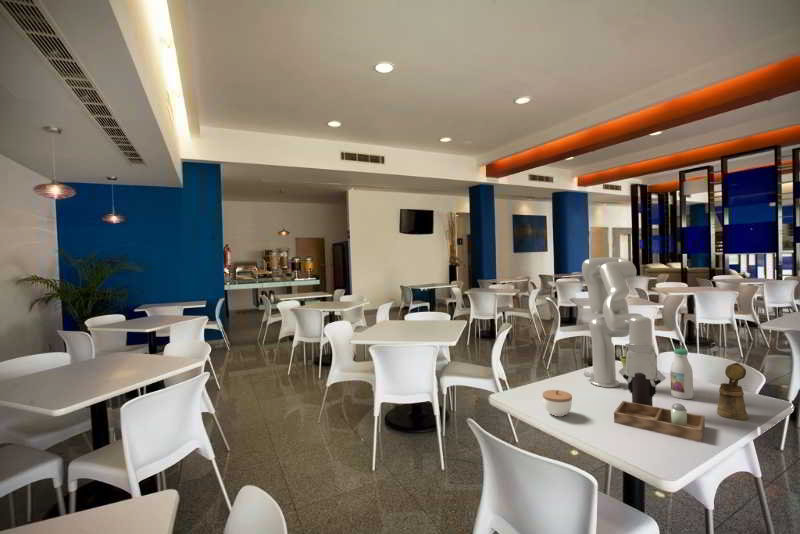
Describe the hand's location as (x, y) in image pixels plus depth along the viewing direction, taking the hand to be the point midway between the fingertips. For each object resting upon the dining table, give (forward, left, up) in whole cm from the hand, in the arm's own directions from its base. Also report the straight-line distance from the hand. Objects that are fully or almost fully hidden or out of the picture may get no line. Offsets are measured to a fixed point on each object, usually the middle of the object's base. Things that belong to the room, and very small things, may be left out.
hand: (641, 393), depth 151 cm
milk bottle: (+10, +26, -7) cm, 29 cm away
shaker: (+13, -13, -6) cm, 19 cm away
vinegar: (0, 0, -7) cm, 7 cm away
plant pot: (-13, +47, -7) cm, 49 cm away
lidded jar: (-25, -22, -7) cm, 34 cm away
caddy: (+7, -13, -7) cm, 16 cm away
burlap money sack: (+27, +15, -7) cm, 32 cm away
